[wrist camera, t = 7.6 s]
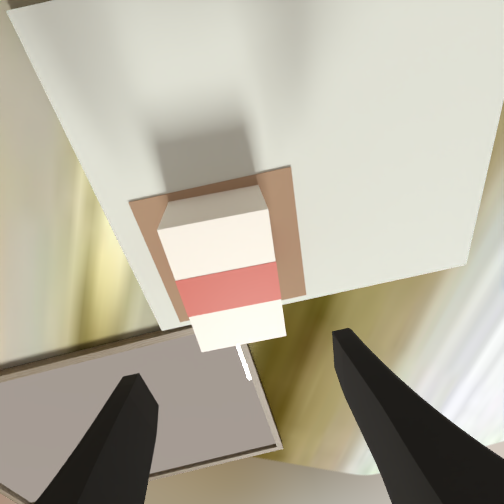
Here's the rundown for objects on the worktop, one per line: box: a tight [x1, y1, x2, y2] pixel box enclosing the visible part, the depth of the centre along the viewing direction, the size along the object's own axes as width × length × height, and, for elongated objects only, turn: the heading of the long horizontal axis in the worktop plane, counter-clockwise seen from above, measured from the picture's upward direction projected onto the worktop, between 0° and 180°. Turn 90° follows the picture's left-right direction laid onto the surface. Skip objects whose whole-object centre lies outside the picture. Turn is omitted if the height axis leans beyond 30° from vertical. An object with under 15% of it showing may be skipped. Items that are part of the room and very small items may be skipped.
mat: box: [6, 0, 504, 331], centre depth 16 cm, size 22×18×1 cm
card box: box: [157, 185, 286, 352], centre depth 16 cm, size 8×5×4 cm, turn 9°
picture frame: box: [0, 325, 283, 504], centre depth 26 cm, size 19×1×28 cm
